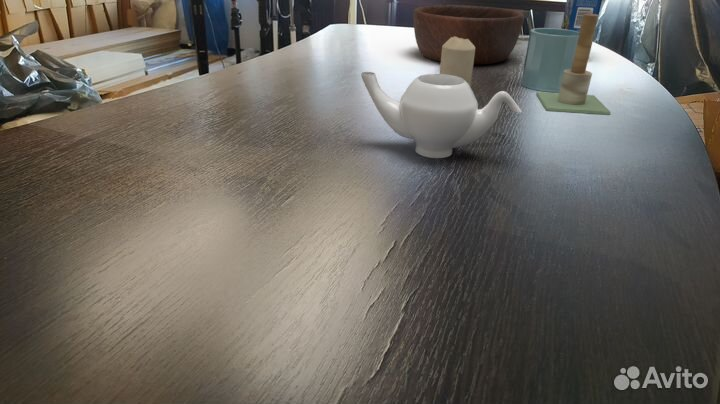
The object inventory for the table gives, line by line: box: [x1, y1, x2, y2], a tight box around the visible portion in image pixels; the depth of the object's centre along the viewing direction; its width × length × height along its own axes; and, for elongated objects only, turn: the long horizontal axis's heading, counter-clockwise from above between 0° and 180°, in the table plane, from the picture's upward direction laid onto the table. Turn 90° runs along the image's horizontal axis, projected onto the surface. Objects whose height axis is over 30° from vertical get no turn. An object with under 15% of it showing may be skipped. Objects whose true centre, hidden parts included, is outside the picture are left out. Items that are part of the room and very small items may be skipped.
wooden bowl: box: [412, 4, 525, 66], centre depth 117 cm, size 25×25×10 cm
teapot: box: [360, 71, 523, 159], centre depth 62 cm, size 10×20×9 cm, turn 74°
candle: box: [439, 36, 475, 88], centre depth 86 cm, size 6×6×10 cm
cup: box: [521, 27, 579, 93], centre depth 94 cm, size 9×9×10 cm
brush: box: [558, 14, 599, 105], centre depth 82 cm, size 4×4×14 cm
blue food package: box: [560, 0, 603, 60], centre depth 118 cm, size 6×12×25 cm, turn 166°
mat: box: [535, 91, 611, 116], centre depth 85 cm, size 10×10×1 cm
